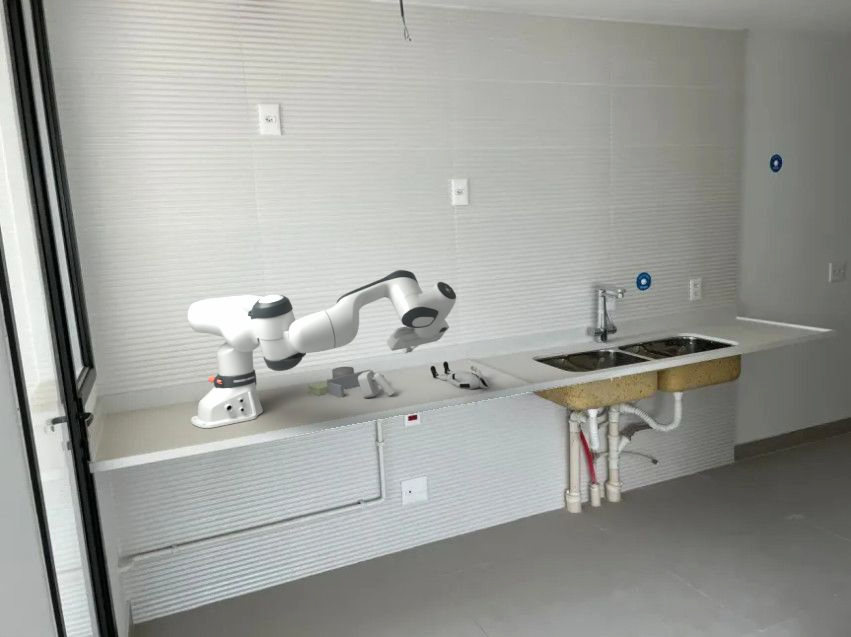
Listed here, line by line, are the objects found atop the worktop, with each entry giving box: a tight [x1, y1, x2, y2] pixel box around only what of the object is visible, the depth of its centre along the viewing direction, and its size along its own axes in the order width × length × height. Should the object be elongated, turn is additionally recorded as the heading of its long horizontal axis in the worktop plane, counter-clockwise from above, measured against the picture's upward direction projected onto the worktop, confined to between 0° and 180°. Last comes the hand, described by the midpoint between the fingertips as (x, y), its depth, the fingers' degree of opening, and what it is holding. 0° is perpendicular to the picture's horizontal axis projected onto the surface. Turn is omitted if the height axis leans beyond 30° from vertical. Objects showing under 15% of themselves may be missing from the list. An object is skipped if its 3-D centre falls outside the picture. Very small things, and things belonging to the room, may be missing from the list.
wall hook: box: [358, 369, 396, 399], centre depth 217 cm, size 8×10×10 cm
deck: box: [308, 366, 385, 398], centre depth 230 cm, size 26×16×6 cm, turn 131°
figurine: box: [429, 361, 490, 390], centre depth 228 cm, size 13×6×30 cm
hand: (406, 351), depth 203 cm, fingers closed
